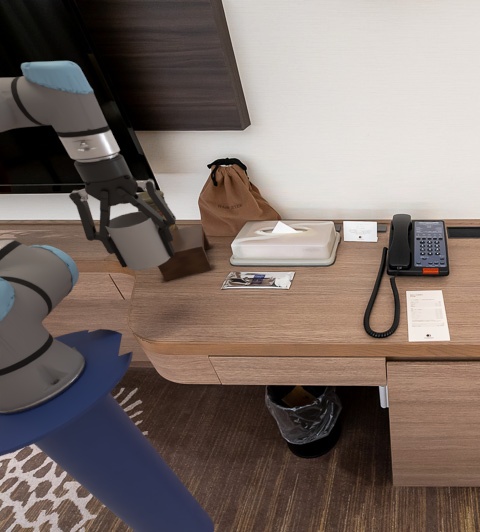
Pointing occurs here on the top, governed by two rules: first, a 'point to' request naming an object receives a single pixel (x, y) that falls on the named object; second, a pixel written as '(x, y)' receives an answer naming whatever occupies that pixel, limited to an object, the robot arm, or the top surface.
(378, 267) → the top surface
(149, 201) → the container
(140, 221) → the cup
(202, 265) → the brown wooden block
